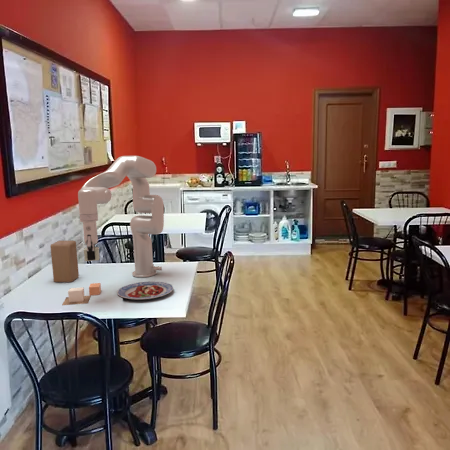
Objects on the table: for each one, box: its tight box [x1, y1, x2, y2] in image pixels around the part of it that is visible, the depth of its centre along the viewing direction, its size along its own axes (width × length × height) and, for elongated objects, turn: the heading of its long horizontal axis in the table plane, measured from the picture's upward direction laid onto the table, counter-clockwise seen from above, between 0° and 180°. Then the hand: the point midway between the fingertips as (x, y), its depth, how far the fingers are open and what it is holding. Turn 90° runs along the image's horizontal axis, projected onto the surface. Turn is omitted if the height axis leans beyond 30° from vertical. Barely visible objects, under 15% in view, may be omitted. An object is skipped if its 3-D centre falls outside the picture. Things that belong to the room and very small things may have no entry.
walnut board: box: [62, 294, 92, 306], centre depth 212 cm, size 11×11×1 cm
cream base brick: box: [67, 287, 85, 302], centre depth 212 cm, size 6×4×5 cm
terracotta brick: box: [88, 282, 102, 296], centre depth 222 cm, size 6×4×5 cm
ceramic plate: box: [116, 280, 174, 301], centre depth 222 cm, size 26×26×3 cm
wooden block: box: [50, 240, 80, 283], centre depth 247 cm, size 10×10×20 cm
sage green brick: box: [83, 246, 100, 262], centre depth 210 cm, size 6×4×5 cm
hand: (91, 258), depth 211 cm, fingers closed on sage green brick, 4 cm apart
